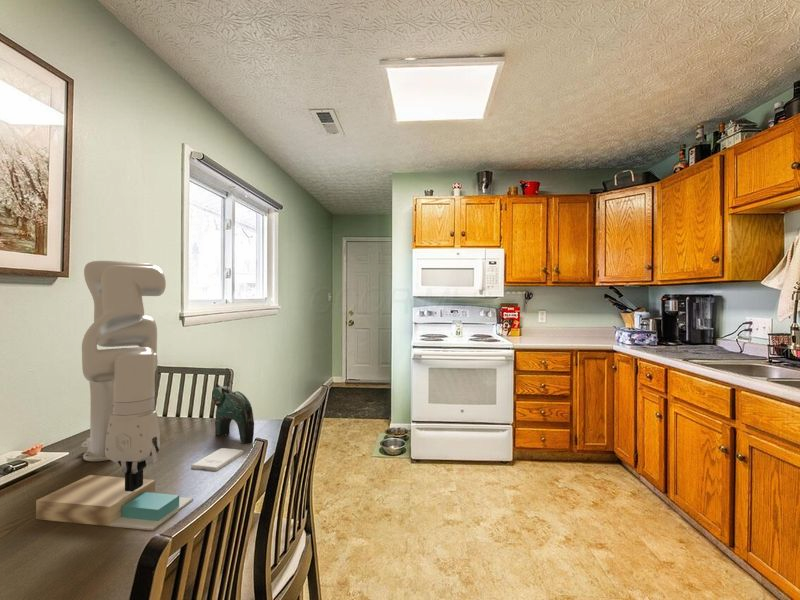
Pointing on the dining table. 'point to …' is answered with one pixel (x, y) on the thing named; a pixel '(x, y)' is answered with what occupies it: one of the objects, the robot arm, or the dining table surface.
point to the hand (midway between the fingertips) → (134, 488)
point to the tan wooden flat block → (89, 500)
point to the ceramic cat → (233, 413)
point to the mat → (148, 523)
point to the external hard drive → (217, 459)
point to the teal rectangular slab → (150, 506)
